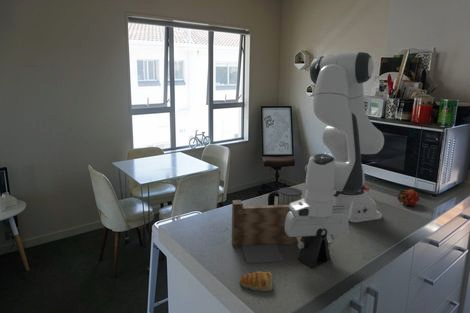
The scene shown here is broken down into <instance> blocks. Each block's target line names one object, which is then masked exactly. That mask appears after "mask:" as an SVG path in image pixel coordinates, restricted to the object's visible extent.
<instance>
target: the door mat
mask: <svg viewBox="0 0 470 313" xmlns="http://www.w3.org/2000/svg"><path fill="white" fill-rule="evenodd" d="M241 250H242V253H243V254H244V258H245V260H246V263H247V264H262V263H265V264H266V263H278V262H285V259H284V257H283V256H282V254H281V252H280V251H279V249H278V247H277V244H268V245H250V246H242V248H241Z"/></svg>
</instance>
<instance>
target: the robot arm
mask: <svg viewBox="0 0 470 313" xmlns="http://www.w3.org/2000/svg"><path fill="white" fill-rule="evenodd" d="M374 67H375V66H374V60H373V58H372V55H370V54H369V53H368V52H362V51H360V52H342V53H338V54H337V53H336V54H330V55H327V56H319V57H316V58H314V59H313V60H312V62H311V64H310V67H309V77H310V80H311V82H313V84H314V85H315V86H314V87H315V88H314V93H313V104H312V106H313V107H312V108H313V109H312V110H313V114H314V115H315V117H316V118H317V119H318V120H319V121H320V122H322V123H323V124H325V125H327V126H326V127H325V128H324V129H323V131H322V134H321V136H322V143H323V144H324V146H325V147H326V148H327V149H328V150H329V151H330V154H331V155H329V154H326V153H316V154H312V155H311V156H310V157H309V159H308V163H307V164H306V165H305V166H304V172H303V183H304V184H305V187H306V190H305V193H304V197H303V198H301V199H300V200H298V201H295V202H292V203H290V204H289V209H290V211H289V212H288V214H287V216H286V220H285V232H286V234H287V235H288V236H289V237H296V239H297V241H298V243H297V248H298V249H300V250H301V249H303V248H304V243H303V241H300V239H302V236H316V232H317V230H318V229H322V230H323V231H322V233H321V235H324V234H325V233H326V232H325V230H324V229H326V230H327V236H330V237H329V238H328V239H327V242H328V248H332V247H333V244H334V242H335V241H336V239H337V238H338V235H347V233H348V232H349V222H351V223H360V222H366V221H367V222H370V221H375V220H380V219H383V218H382V217H383V215H382V213H381V212H380V211H379V210H378V209H377V203H376V201H375V200H374V199H373V198H371V197H370V196H369V195H368V194H367V193H366V192H369V191H370V186H368V185H364V184H365V178H366V177H365V172H364V168H363V165H362V155H375V154H378V153H379V152H380V151H381V150H382V149H383V147H384V144H385V137H384V134H383V133H382V131H381V130H380V129H378V128H377V127H376V126H375V125H374V124H373V123H372V122H371V120H370V119H369V117H368V114H367V112H366V106H365V92H364V90H365V89H364V83H366V82H368V81H369V80H371V78H372V75H373V72H374V69H375V68H374ZM323 228H324V229H323Z"/></svg>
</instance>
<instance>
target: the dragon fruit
mask: <svg viewBox="0 0 470 313" xmlns="http://www.w3.org/2000/svg"><path fill="white" fill-rule="evenodd" d="M397 200H398V202H399V203H402V202H403V203H404V204H405V205H408V206H410V205H414V206H413V207H415V206H416V204H417V202H419V201H420V197H419V194H418V192H417V191H415V190H414V189H413V188H412V189H408V188H407V189H405V190H400V191H399V193H398V197H397ZM403 203H402V204H403ZM405 205H404V206H405Z"/></svg>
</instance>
